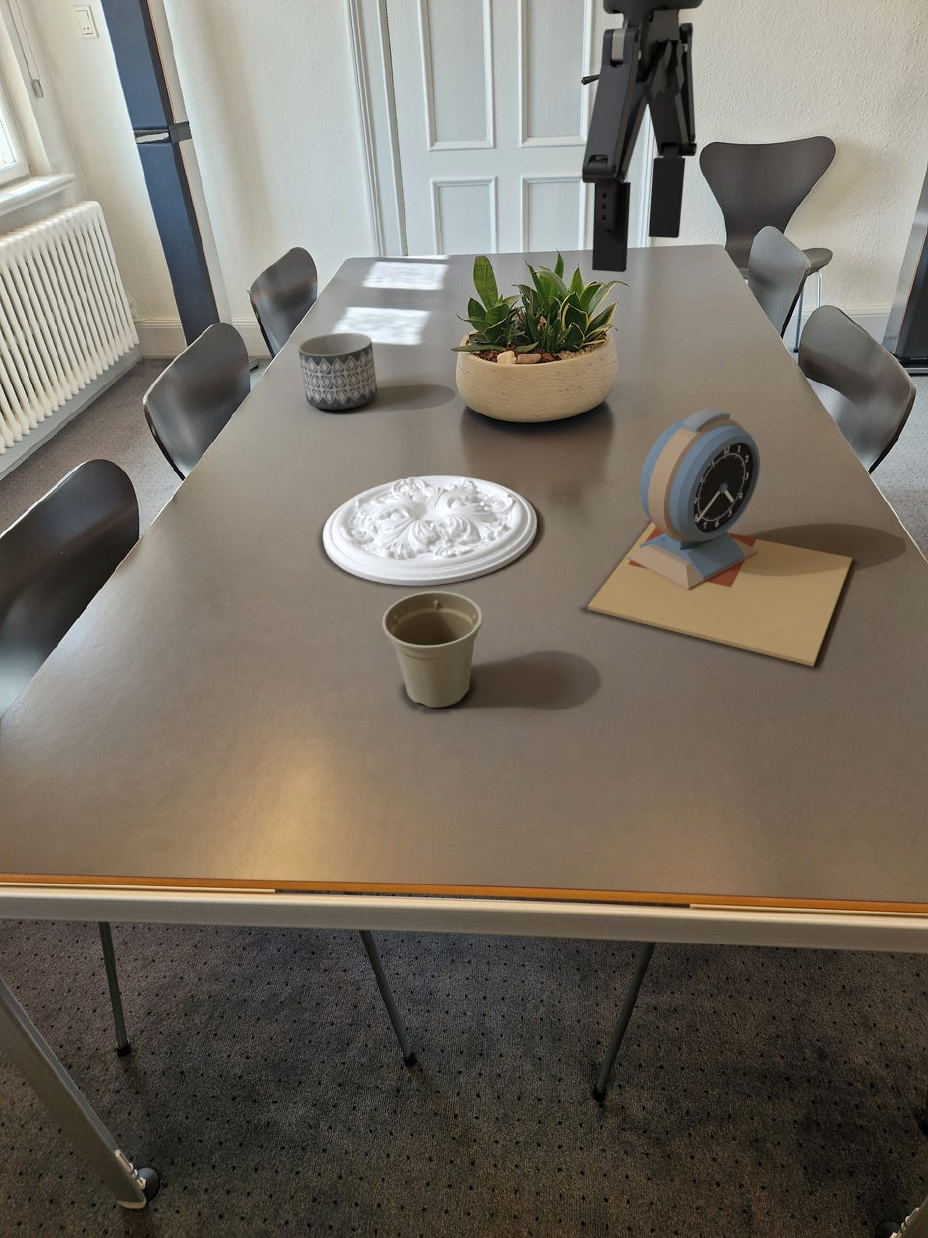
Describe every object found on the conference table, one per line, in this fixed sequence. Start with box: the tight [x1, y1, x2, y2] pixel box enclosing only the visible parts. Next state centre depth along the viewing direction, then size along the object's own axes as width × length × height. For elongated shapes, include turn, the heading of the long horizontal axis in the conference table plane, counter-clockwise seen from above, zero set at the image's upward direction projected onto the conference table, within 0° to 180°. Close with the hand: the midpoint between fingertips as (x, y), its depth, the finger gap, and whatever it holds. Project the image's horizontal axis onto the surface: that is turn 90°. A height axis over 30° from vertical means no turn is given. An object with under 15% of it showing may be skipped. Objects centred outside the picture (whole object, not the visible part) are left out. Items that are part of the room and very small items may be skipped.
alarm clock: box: [624, 408, 761, 589], centre depth 96 cm, size 14×10×18 cm
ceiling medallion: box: [322, 475, 538, 587], centre depth 111 cm, size 28×28×3 cm
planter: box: [297, 332, 378, 411], centre depth 150 cm, size 13×13×10 cm
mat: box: [587, 521, 853, 667], centre depth 97 cm, size 24×22×1 cm
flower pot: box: [381, 590, 483, 709], centre depth 82 cm, size 9×9×9 cm
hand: (638, 252), depth 75 cm, fingers open, 13 cm apart
